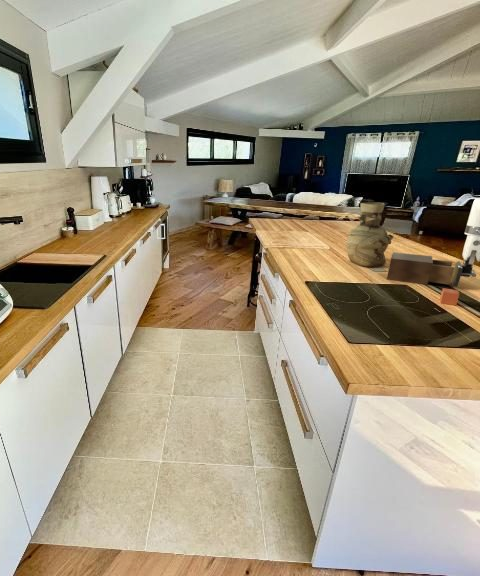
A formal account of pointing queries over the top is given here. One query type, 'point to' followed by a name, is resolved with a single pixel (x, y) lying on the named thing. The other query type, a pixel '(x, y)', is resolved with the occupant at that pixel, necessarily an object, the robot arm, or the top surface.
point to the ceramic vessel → (368, 238)
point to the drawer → (447, 272)
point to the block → (449, 296)
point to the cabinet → (410, 268)
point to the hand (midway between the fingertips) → (464, 275)
